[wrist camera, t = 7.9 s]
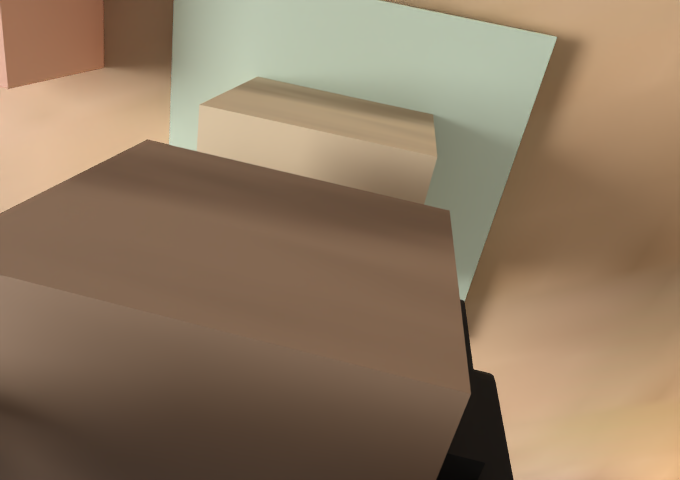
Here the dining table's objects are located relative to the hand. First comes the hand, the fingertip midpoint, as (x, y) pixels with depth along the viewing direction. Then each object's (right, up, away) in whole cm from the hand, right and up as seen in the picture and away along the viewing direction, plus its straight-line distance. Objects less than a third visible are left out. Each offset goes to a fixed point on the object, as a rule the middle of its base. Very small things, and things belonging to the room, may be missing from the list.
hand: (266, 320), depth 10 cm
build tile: (+1, +4, +9) cm, 10 cm away
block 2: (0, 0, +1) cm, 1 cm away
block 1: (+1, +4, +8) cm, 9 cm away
